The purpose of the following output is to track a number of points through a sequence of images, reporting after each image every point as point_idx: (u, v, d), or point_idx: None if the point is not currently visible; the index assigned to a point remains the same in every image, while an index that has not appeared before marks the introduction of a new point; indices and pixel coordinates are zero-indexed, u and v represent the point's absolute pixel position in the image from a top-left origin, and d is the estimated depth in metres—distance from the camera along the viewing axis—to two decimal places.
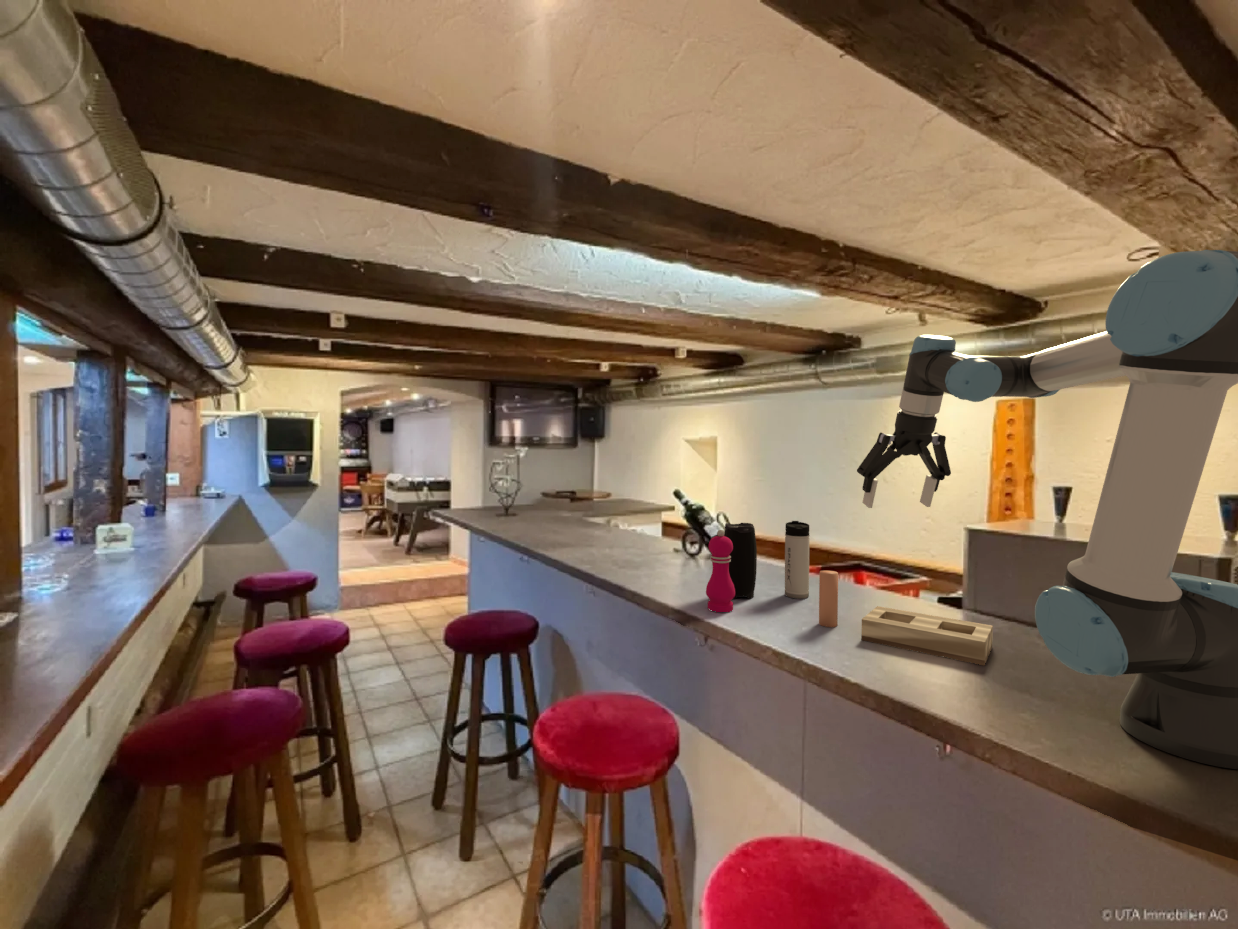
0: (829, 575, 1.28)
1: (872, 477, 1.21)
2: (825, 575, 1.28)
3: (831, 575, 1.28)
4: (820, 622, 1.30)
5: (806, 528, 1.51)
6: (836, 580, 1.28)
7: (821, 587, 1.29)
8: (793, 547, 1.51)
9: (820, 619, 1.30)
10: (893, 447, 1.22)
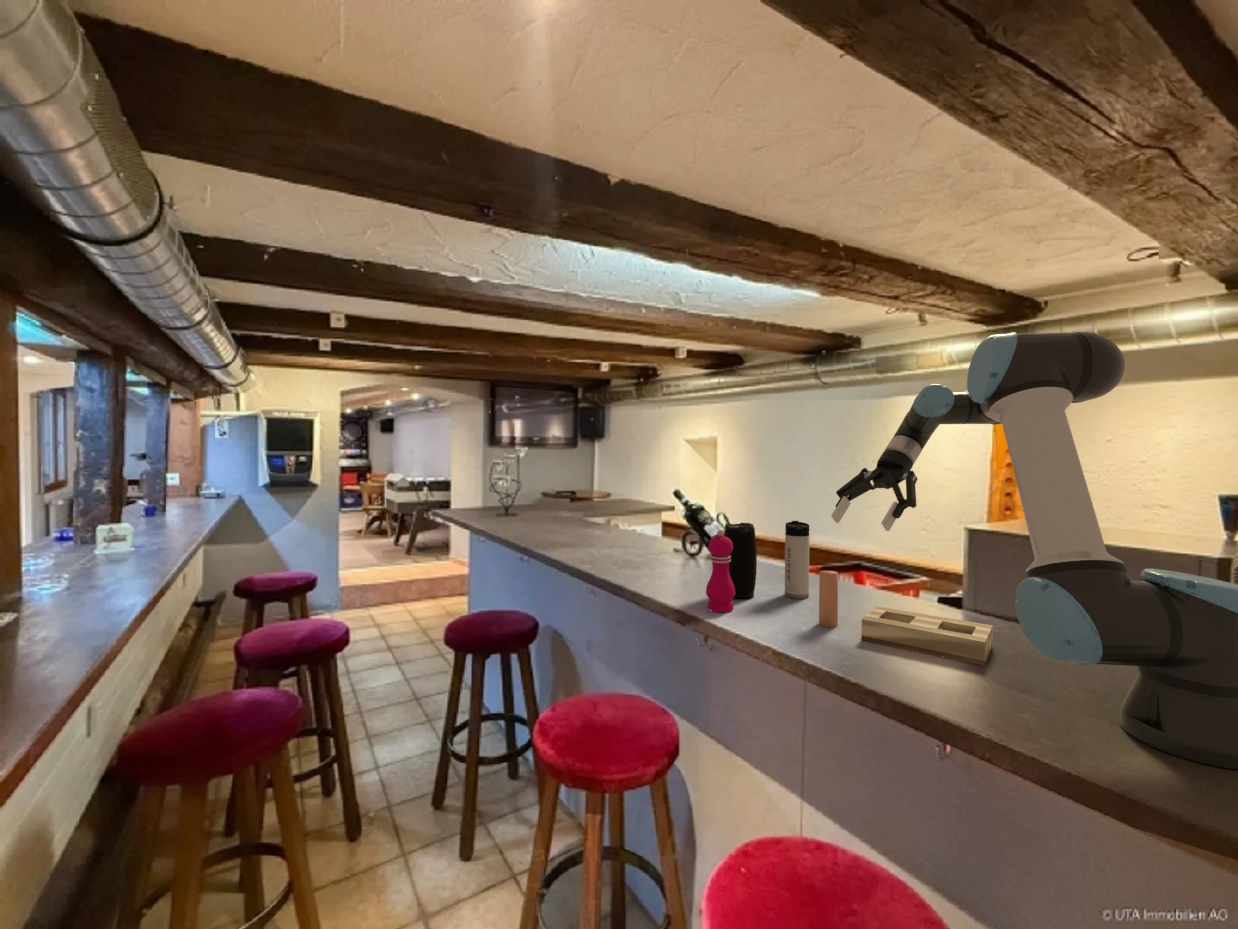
0: (829, 575, 1.28)
1: (842, 494, 1.44)
2: (825, 575, 1.28)
3: (831, 575, 1.28)
4: (820, 622, 1.30)
5: (806, 528, 1.51)
6: (836, 580, 1.28)
7: (821, 587, 1.29)
8: (793, 547, 1.51)
9: (820, 619, 1.30)
10: (875, 485, 1.42)
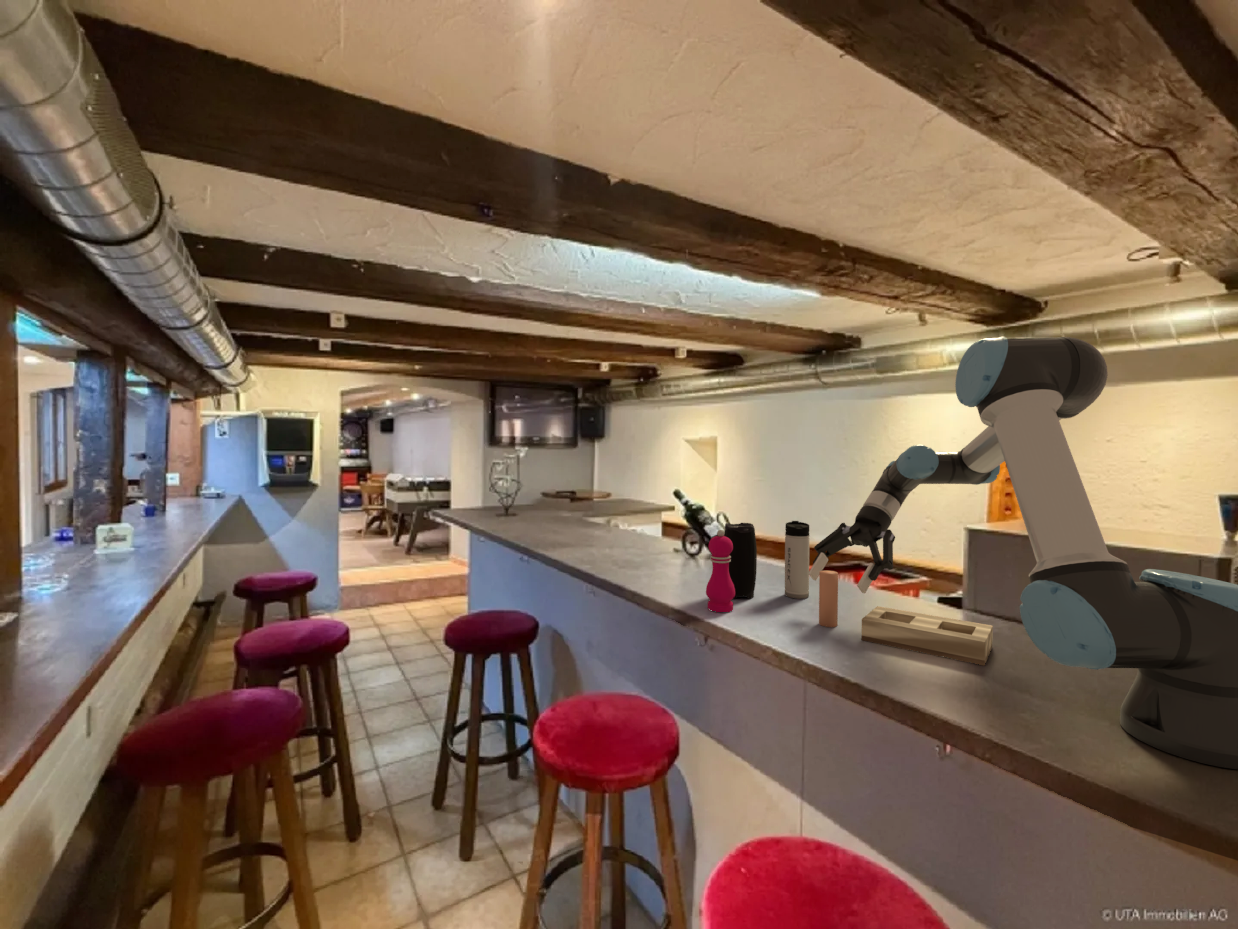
0: (829, 575, 1.28)
1: (820, 550, 1.41)
2: (825, 575, 1.28)
3: (831, 575, 1.28)
4: (820, 622, 1.30)
5: (806, 528, 1.51)
6: (836, 580, 1.28)
7: (821, 587, 1.29)
8: (793, 547, 1.51)
9: (820, 619, 1.30)
10: (853, 541, 1.40)
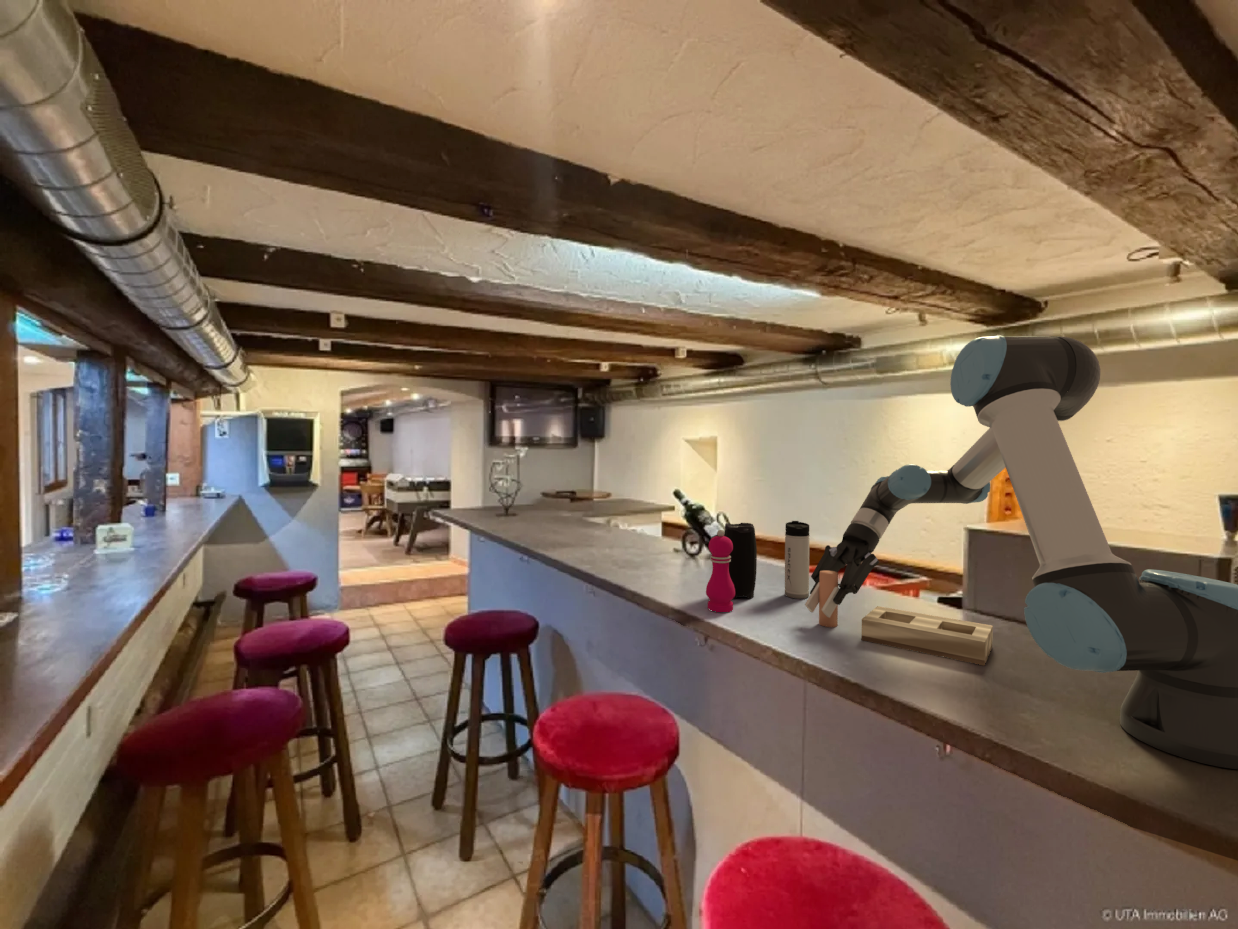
0: (829, 575, 1.28)
1: (817, 579, 1.33)
2: (825, 575, 1.28)
3: (831, 575, 1.28)
4: (820, 622, 1.30)
5: (806, 528, 1.51)
6: (836, 580, 1.28)
7: (821, 587, 1.29)
8: (793, 547, 1.51)
9: (820, 619, 1.30)
10: None
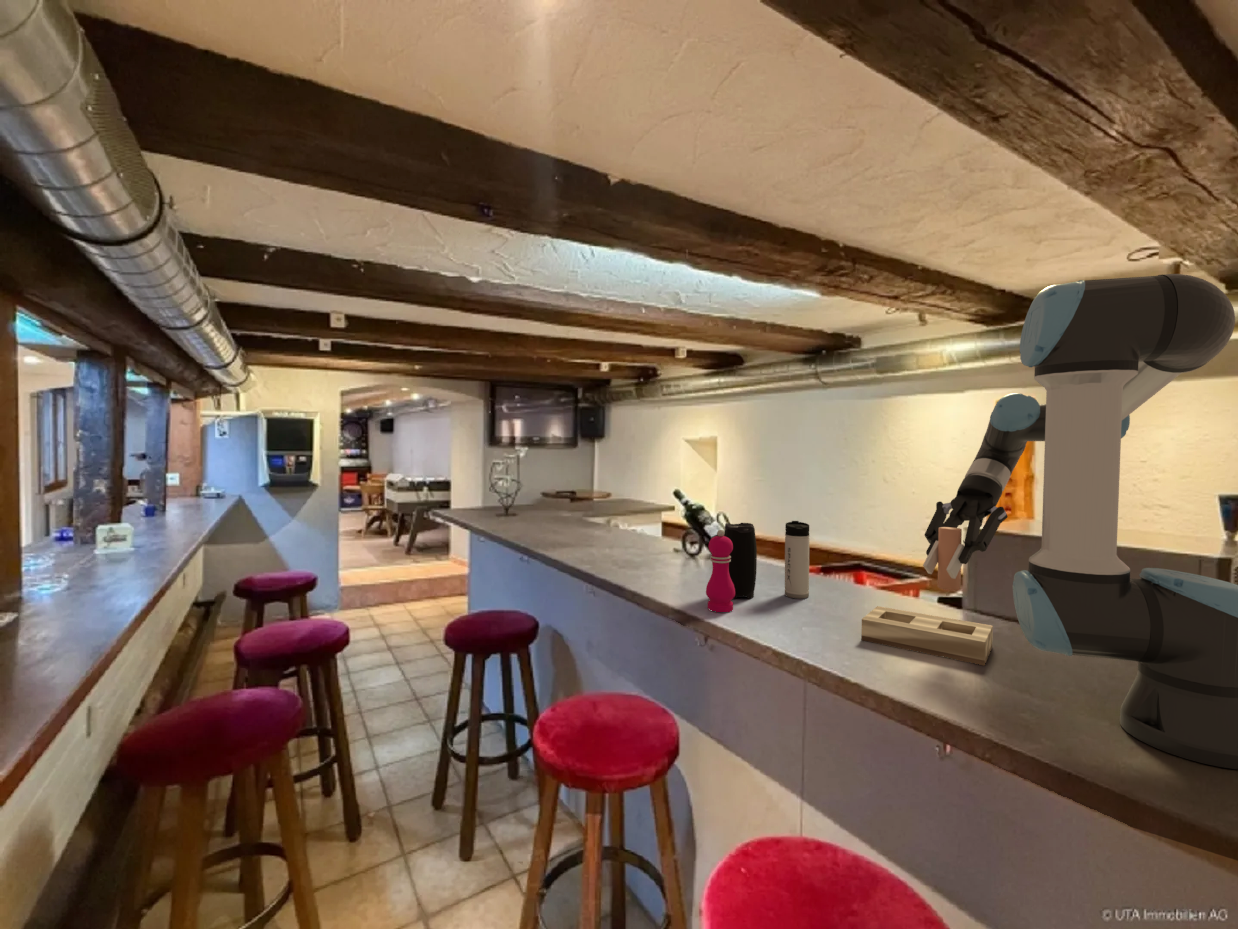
0: (953, 531, 1.13)
1: (934, 538, 1.17)
2: (948, 531, 1.13)
3: (955, 531, 1.13)
4: (940, 585, 1.14)
5: (806, 528, 1.51)
6: (960, 536, 1.13)
7: (942, 545, 1.14)
8: (793, 547, 1.51)
9: (940, 582, 1.15)
10: None
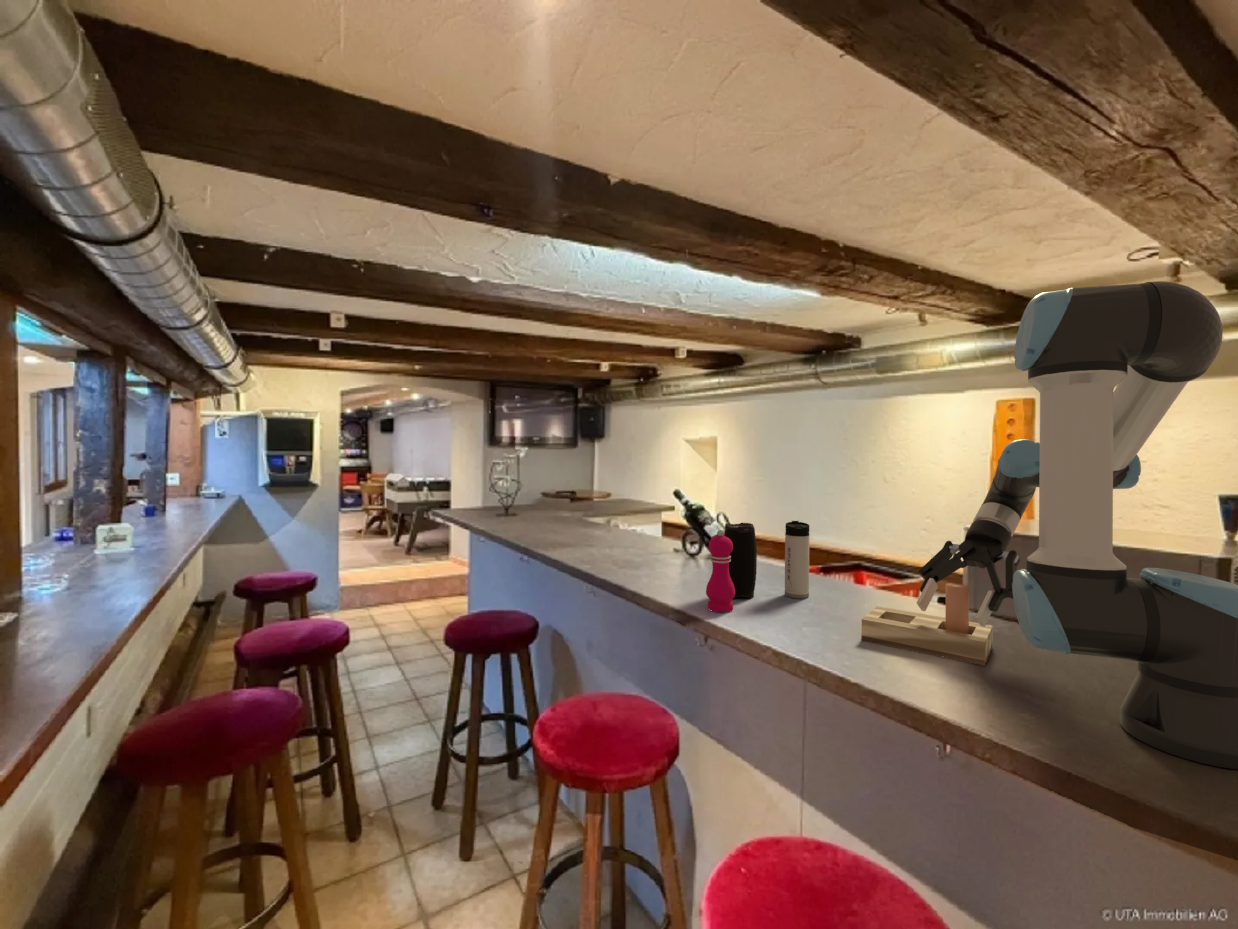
0: (960, 589, 1.12)
1: (928, 575, 1.20)
2: (955, 589, 1.12)
3: (962, 589, 1.12)
4: None
5: (806, 528, 1.51)
6: (967, 594, 1.12)
7: (949, 602, 1.13)
8: (793, 547, 1.51)
9: None
10: (965, 562, 1.20)
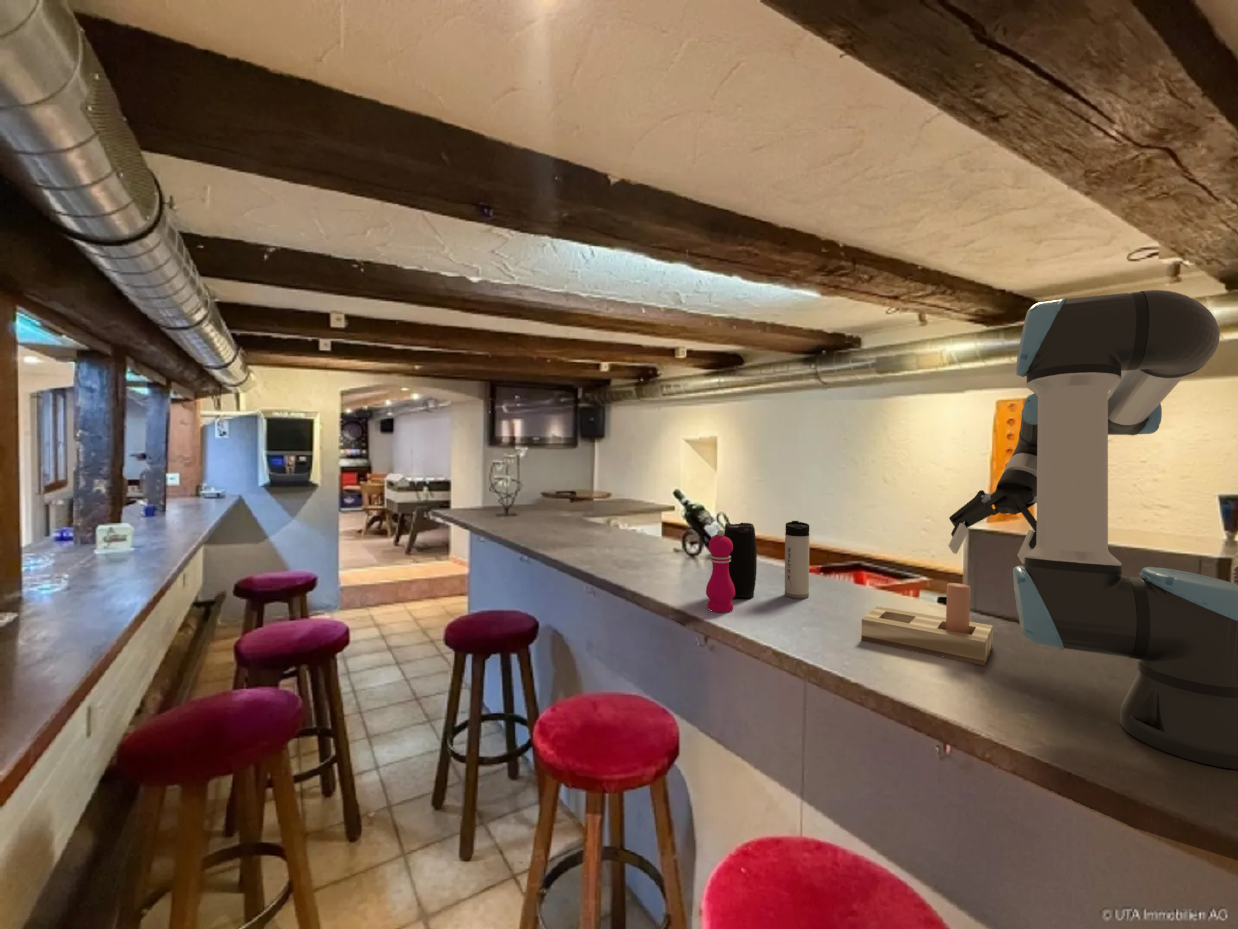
0: (961, 589, 1.12)
1: (958, 520, 1.27)
2: (956, 589, 1.12)
3: (963, 589, 1.12)
4: None
5: (806, 528, 1.51)
6: (969, 595, 1.12)
7: (950, 602, 1.13)
8: (793, 547, 1.51)
9: None
10: (996, 509, 1.26)
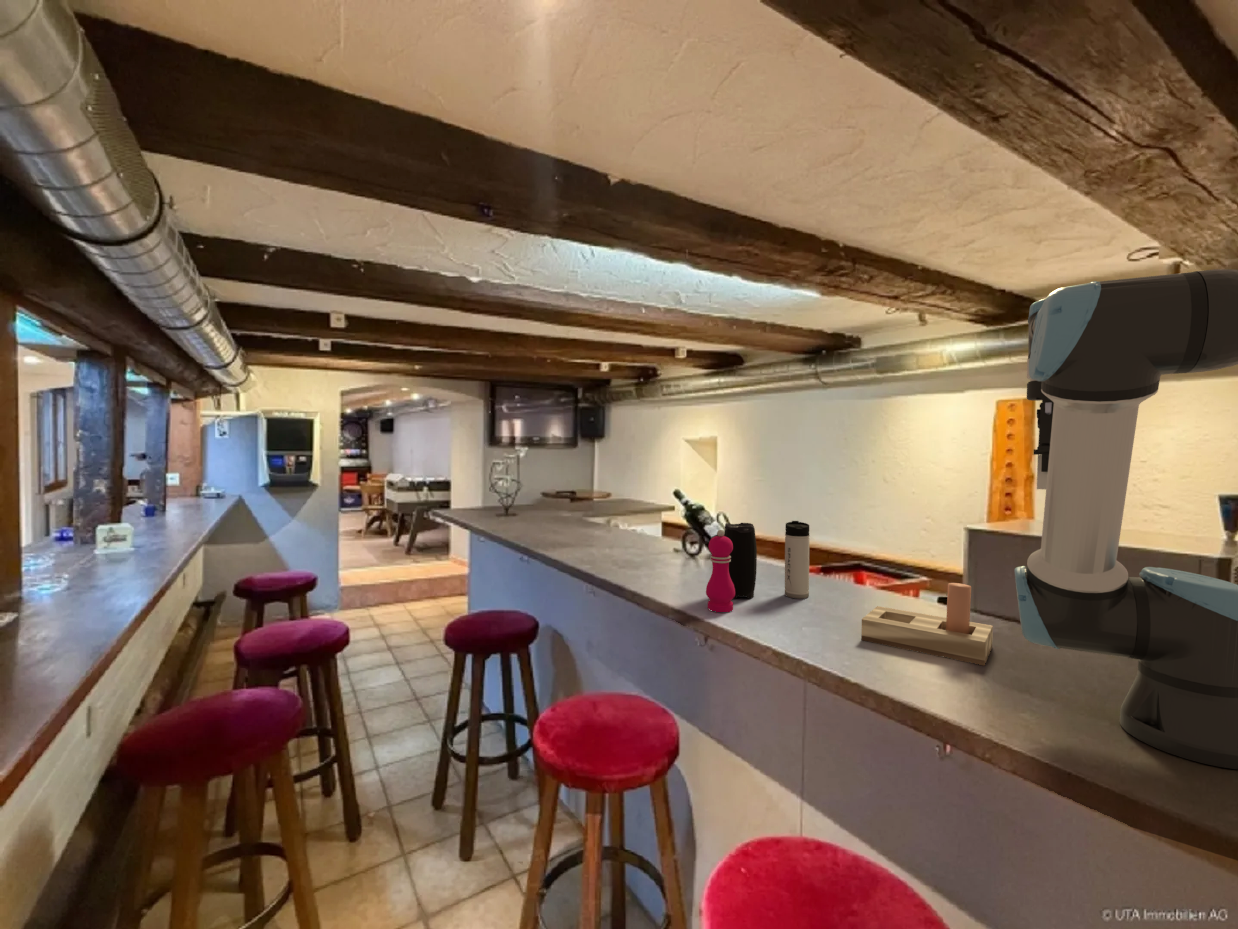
0: (962, 588, 1.12)
1: None
2: (956, 588, 1.12)
3: (964, 588, 1.12)
4: None
5: (806, 528, 1.51)
6: (969, 594, 1.12)
7: (951, 602, 1.13)
8: (793, 547, 1.51)
9: None
10: None
